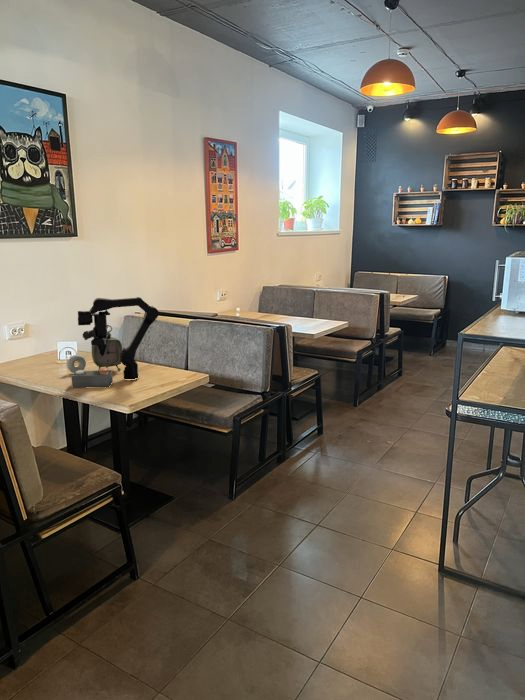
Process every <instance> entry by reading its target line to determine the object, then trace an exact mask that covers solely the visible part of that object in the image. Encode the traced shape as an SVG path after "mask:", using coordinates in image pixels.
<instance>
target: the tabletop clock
mask: <svg viewBox="0 0 525 700" xmlns="http://www.w3.org/2000/svg"><path fill="white" fill-rule="evenodd" d="M107 326H108V328H110V330H107V332H109V333H110V332H112V331H113V327H112V326H111V325H109V324H107ZM106 340H109V343H108V345H107V348H106V351H105V354H104V356H101V354H100V351H99V348H98V346H97V345H91V358H92V361H93V364H95V366H96V367H98V370H97V371H99V369H100V368H108V369H109V367H116V369H117V372H120V371H121V369H122V368H120V367H119V365H121V364H122V362H121V359H120V356H121V355H120V353H122V351H123V345H122V342H121V340H120V339H118V338H117V337H112V336H111V339H109V338H106Z"/></svg>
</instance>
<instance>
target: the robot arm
mask: <svg viewBox="0 0 525 700" xmlns="http://www.w3.org/2000/svg"><path fill="white" fill-rule="evenodd" d="M135 306H136V307H139V308H140V309H141V310H142V311H144V313H143V314H144V315H143V318H142V321H141V322H140V326H139V327H138V329H137V330H136V332H135V335H134V336H133V338H132V340H131V342H130V344H129V345H128V346H127V348H126V347H122V353H120V355H121V356H120V359H121V364H122V365H123V366H125V367H124V369H123V380H124V379H135V378H138V376H139V365H138V363H137V360H136V359H135V358H136V352H137V350H138V348H139V346H140V345H141V342H142V341H143V339H144V337H145V335H146V334H147V331H148V329H149V328H150V326H151V325H152V324H153V323H154V322H155V321H156V319H157V318H158V317H159V315H160V313H159V310H158V308H157V307H155V306H153V305H151V306H150V305H149V304H148V303H147V302H145V300H144V299H142V297H139V296H137V297H130V298H128V297H127V298H116V299H114V298H113V299H111V298H101V297H96V298H95V299H94V300H93V302H92V306H91V308H89V310H85V311H84V310H78V311H77V326H91V324H93V323H94V327H92V329H91V330H86V331H83V333H82V338H83V339H84V341H87V340H89V339H91V338H92V339H91V340H90V343H91V344H90V345H91V346H92V345H97V346H98V348H99V351H100V354H101V356H104V354H105V351H106V348H107V345H108V343H109V340H106V338H109V339H111V337H112V333H110V332H107V331H108V328H109V326H107V325H108V322H107V316H110V315H111V313H110V312H109V311H108V310H110V309H114V308H124V307H125V308H126V307H135ZM97 312H98V313H97ZM138 379H139V378H138Z"/></svg>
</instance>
